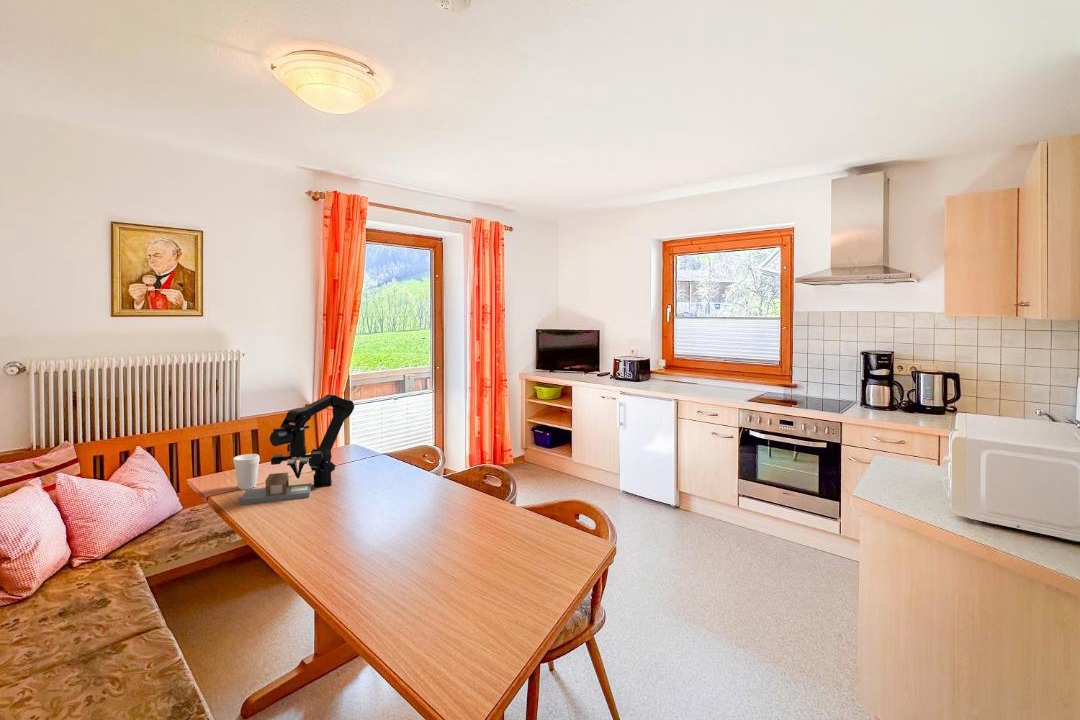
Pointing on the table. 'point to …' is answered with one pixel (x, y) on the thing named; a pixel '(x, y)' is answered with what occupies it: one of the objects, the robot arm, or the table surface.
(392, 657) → the table surface
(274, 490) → the block
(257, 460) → the foam cup
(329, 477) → the robot arm
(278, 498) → the board
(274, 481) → the slide cover
